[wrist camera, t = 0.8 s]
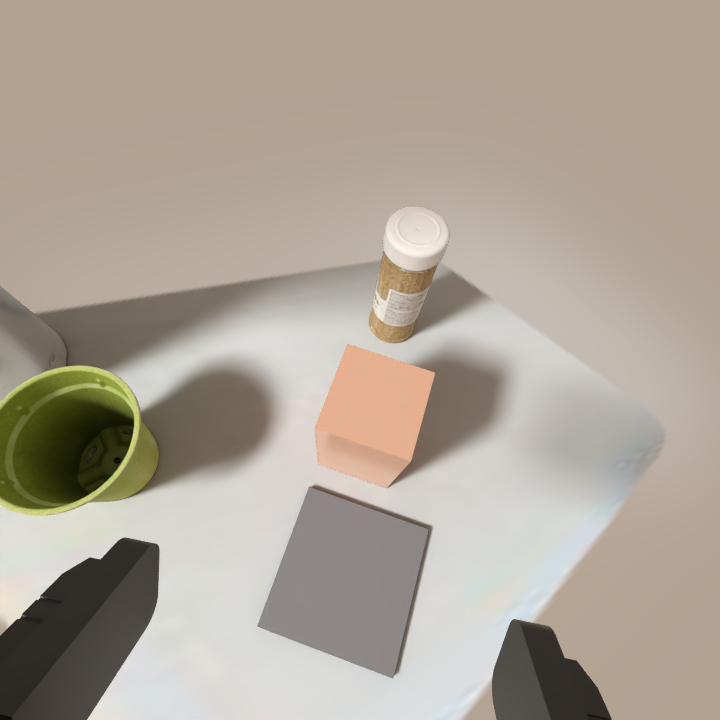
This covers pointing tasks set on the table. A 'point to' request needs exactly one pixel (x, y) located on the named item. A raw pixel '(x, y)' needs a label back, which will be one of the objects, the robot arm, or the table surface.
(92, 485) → the plant pot
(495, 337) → the table surface
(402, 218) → the spice jar
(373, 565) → the gray mat
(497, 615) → the table surface
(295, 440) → the table surface
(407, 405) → the tall peach pillar
